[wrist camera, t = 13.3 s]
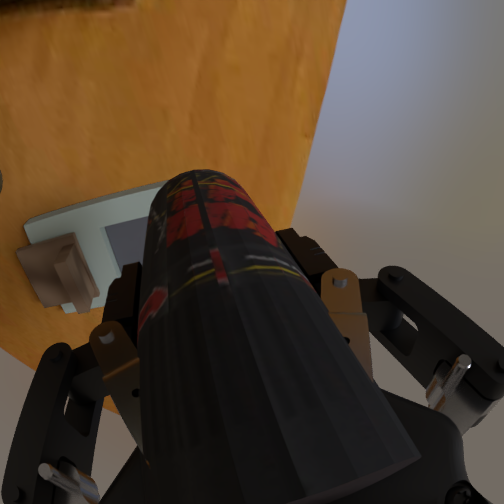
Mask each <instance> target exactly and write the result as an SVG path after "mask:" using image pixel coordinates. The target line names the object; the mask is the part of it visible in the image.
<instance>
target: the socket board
mask: <svg viewBox="0 0 504 504" xmlns="http://www.w3.org/2000/svg"><path fill="white" fill-rule="evenodd" d="M167 181H169V180H166V181H162V182H157V183H153V184H149V185H145V186H141V187H136V188H132V189H128V190H125V191H121V192H117V193H113V194H109V195H106V196H102V197H98V198H95V199H91V200H88V201H84V202H81V203H77V204H74V205H71V206H67V207H64V208H61V209H58V210H55V211H51V212H48V213H45V214H42V215H39V216H36V217H33V218H30V219H29V220H28V221H27V222H26V223H25V224H24V228H25V231H26V233H27V236H28V238H29V241H30V243H31V244H35V243H38V242H41V241H45V240H48V239H51V238H55V237H58V236H62V235H65V234H69V233H72V232H75V234H76V237H77V240H78V242H79V245H80V247H81V250H82V252H83V255H84V257H85V260H86V262H87V264H88V267H89V269H90V271H91V274H92V276H93V278H94V280H95V283H96V285H97V287H98V289H99V291H100V295H99V297H95V298H93V300H92V304H91V308H96V307H101V306H105V303H106V297H107V293H108V288H109V286H110V284H111V283H112V282H113V280H114V279H116V278H120V277H121V273H122V268H123V265H126V264H130V263H134V262H140V263H141V265H142V264H143V254H144V246H145V237H146V230H147V222H148V216H149V211H150V206H151V203H152V201H153V199H154V197H155V195H156V194H157V192H158V191H159V190H160V189H161V188H162V187H163V185H164V184H165V183H166V182H167ZM105 229H106V230H105ZM106 232H107V233H106ZM107 235H108V236H107ZM110 243H111V244H110ZM111 246H112V247H111ZM112 249H113V250H112ZM114 254H115V255H114ZM115 257H116V258H115ZM116 260H117V261H116ZM118 265H119V266H118ZM120 270H121V271H120ZM61 306H62V308H63V310H64V311H65V313H71V312H76V311H77V310H76V309H75V307H74V305H73V303H72V302H71V303H66V304H61Z"/></svg>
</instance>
